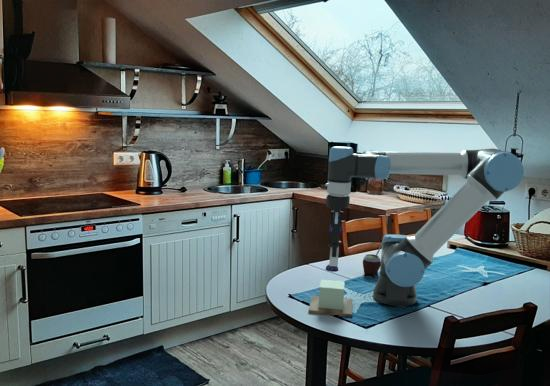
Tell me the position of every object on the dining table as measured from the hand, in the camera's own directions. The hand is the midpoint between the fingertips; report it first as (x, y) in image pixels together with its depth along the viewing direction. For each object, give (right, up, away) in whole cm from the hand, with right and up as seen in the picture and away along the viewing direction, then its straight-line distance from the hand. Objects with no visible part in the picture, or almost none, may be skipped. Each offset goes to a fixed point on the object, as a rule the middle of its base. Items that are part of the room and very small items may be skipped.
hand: (333, 264), depth 180 cm
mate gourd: (+20, -10, +39) cm, 45 cm away
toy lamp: (0, -2, 0) cm, 2 cm away
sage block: (-1, -14, +2) cm, 14 cm away
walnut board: (-1, -15, +2) cm, 15 cm away
